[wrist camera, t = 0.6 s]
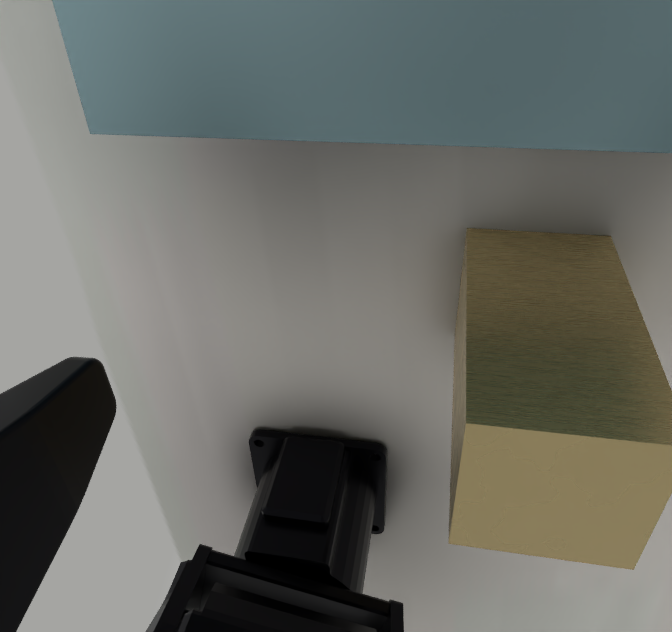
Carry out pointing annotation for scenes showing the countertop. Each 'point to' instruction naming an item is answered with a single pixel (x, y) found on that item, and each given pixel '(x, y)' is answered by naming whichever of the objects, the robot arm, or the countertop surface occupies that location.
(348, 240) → the countertop surface
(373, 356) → the countertop surface
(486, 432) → the brass pin
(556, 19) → the hole block
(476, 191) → the countertop surface
